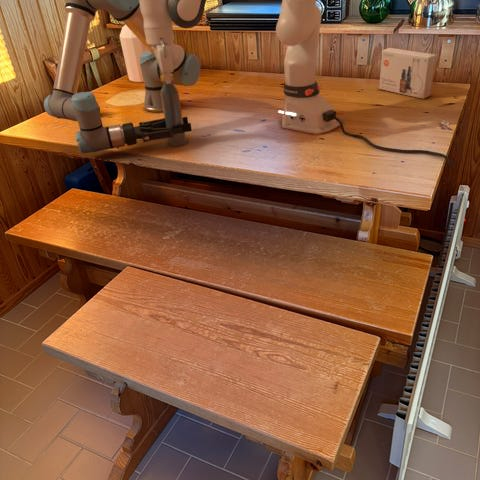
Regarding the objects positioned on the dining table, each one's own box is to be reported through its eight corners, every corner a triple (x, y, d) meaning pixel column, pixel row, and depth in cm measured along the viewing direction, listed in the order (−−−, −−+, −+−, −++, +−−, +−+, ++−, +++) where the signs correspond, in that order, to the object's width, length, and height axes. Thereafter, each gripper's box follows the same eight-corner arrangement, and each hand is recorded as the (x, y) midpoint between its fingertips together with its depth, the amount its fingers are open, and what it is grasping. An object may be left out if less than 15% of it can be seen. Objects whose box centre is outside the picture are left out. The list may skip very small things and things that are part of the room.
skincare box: (377, 89, 194) (381, 50, 185) (385, 86, 197) (389, 47, 188) (423, 99, 180) (429, 56, 171) (430, 95, 183) (437, 53, 174)
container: (160, 81, 233) (149, 21, 217) (121, 82, 238) (108, 23, 222) (174, 69, 249) (165, 13, 233) (138, 70, 254) (126, 15, 238)
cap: (173, 77, 155) (172, 72, 154) (173, 80, 152) (172, 76, 151) (160, 79, 155) (160, 74, 154) (161, 82, 151) (160, 77, 150)
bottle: (169, 146, 163) (157, 80, 150) (169, 140, 168) (158, 75, 155) (186, 144, 163) (175, 78, 150) (186, 138, 168) (176, 73, 155)
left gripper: (124, 135, 169) (186, 124, 173) (127, 155, 154) (195, 143, 157) (119, 115, 165) (183, 105, 169) (122, 134, 149) (192, 122, 153)
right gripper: (173, 40, 137) (181, 87, 145) (166, 29, 154) (172, 71, 162) (152, 43, 136) (161, 90, 144) (147, 31, 153) (154, 74, 161)
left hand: (189, 123), depth 163 cm, fingers closed on bottle, 6 cm apart
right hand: (167, 80), depth 153 cm, fingers open, 5 cm apart
